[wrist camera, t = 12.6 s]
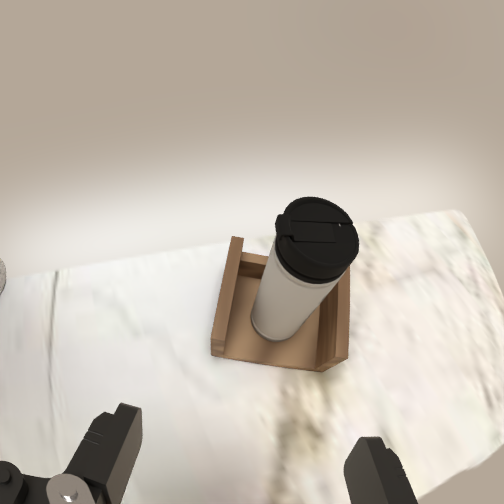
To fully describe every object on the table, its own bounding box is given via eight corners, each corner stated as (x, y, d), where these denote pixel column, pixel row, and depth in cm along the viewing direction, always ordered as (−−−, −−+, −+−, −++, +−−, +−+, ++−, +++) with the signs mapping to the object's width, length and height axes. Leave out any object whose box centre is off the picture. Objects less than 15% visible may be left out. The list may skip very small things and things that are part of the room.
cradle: (211, 355, 37) (210, 338, 30) (228, 269, 43) (231, 235, 36) (322, 371, 37) (347, 358, 30) (328, 287, 43) (349, 258, 36)
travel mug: (245, 296, 40) (272, 189, 23) (296, 294, 41) (353, 192, 24) (249, 344, 37) (283, 265, 20) (302, 340, 38) (375, 262, 21)
